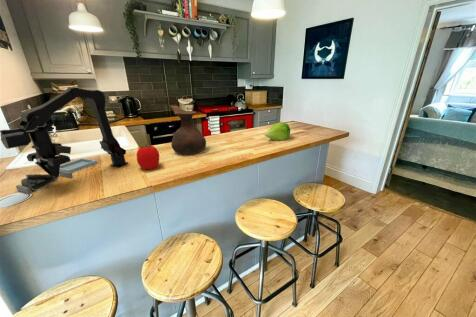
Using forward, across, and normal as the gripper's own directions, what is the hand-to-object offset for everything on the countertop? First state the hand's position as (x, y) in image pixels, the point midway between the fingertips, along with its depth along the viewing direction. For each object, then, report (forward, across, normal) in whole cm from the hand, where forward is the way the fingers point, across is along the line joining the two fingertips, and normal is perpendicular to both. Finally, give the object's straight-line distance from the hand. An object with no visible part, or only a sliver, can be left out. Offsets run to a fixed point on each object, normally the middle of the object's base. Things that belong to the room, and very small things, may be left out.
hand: (55, 176), depth 88 cm
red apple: (+6, -23, -31) cm, 39 cm away
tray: (+6, +16, -18) cm, 25 cm away
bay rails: (+6, +8, 0) cm, 10 cm away
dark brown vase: (+6, -28, -60) cm, 67 cm away
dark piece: (+8, +10, -2) cm, 12 cm away
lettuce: (+6, -77, -103) cm, 129 cm away
